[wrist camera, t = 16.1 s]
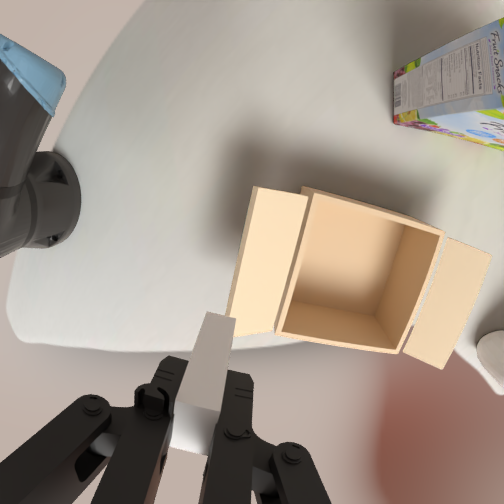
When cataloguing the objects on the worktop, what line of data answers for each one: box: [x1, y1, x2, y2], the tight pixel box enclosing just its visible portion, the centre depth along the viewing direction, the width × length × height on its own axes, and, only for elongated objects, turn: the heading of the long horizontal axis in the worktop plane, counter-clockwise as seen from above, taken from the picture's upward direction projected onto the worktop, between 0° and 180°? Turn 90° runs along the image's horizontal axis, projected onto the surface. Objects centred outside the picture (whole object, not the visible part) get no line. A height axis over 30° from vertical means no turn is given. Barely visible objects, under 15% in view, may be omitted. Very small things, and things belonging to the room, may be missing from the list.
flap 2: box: [403, 237, 492, 369], centre depth 31 cm, size 6×15×1 cm
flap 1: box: [225, 186, 308, 337], centre depth 31 cm, size 6×15×1 cm
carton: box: [274, 186, 445, 354], centre depth 37 cm, size 16×16×10 cm
